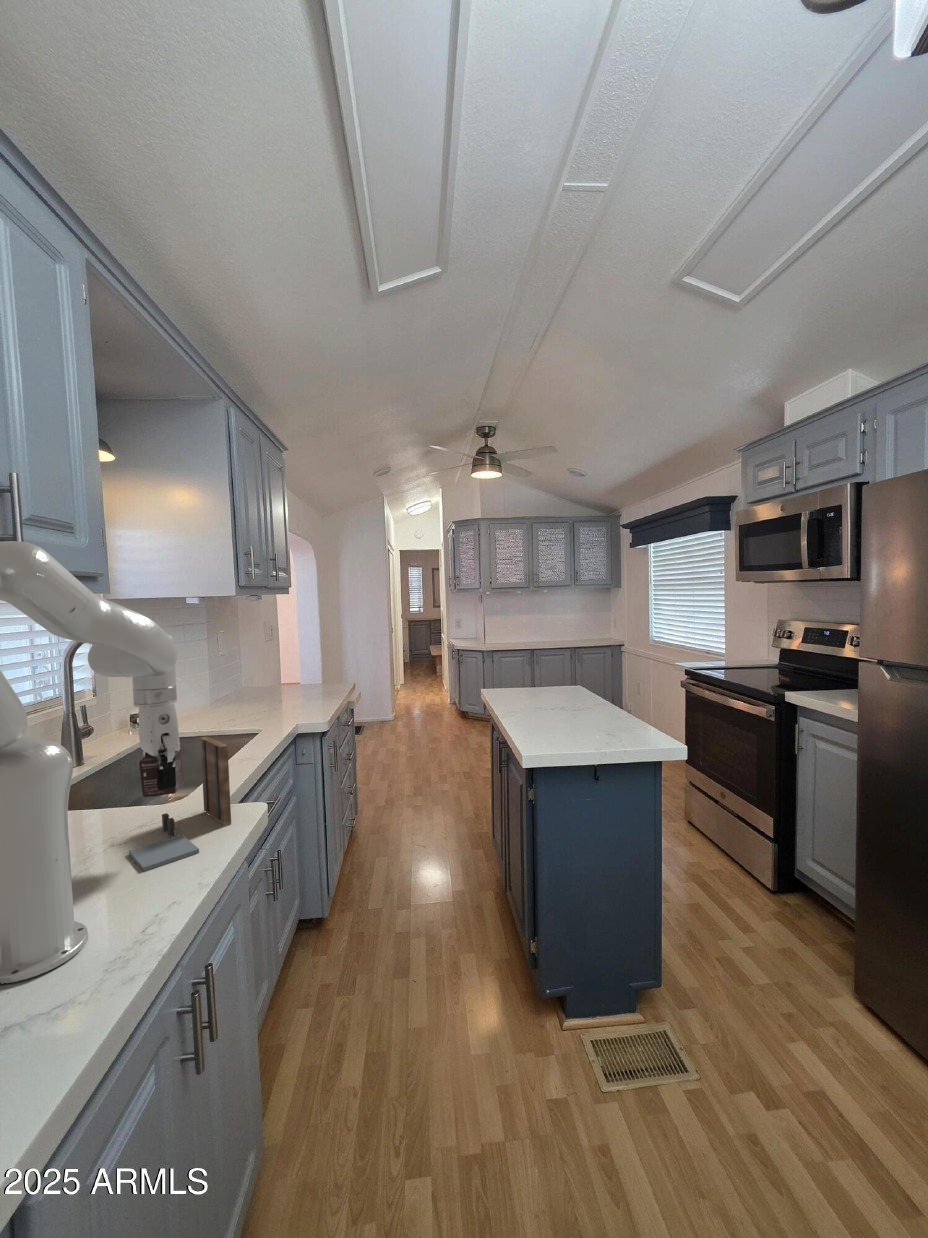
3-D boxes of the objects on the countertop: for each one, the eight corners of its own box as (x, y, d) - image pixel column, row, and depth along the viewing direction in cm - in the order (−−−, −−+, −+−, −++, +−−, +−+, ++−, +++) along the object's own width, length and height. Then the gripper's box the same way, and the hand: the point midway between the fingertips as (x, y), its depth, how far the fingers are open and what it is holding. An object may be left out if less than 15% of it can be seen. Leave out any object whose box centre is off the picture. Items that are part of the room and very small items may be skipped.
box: (142, 798, 106) (137, 762, 105) (152, 786, 112) (148, 751, 111) (176, 794, 107) (171, 758, 106) (184, 782, 113) (180, 748, 112)
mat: (143, 871, 103) (143, 867, 103) (128, 854, 110) (128, 850, 110) (199, 852, 110) (199, 849, 110) (182, 837, 117) (181, 834, 117)
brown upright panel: (175, 841, 115) (171, 757, 114) (157, 825, 123) (153, 747, 122) (231, 824, 123) (227, 745, 122) (211, 810, 132) (207, 736, 131)
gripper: (191, 698, 105) (195, 788, 105) (162, 689, 117) (166, 769, 118) (147, 704, 99) (152, 799, 100) (121, 694, 112) (126, 778, 112)
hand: (159, 782), depth 109 cm, fingers closed on box, 8 cm apart
